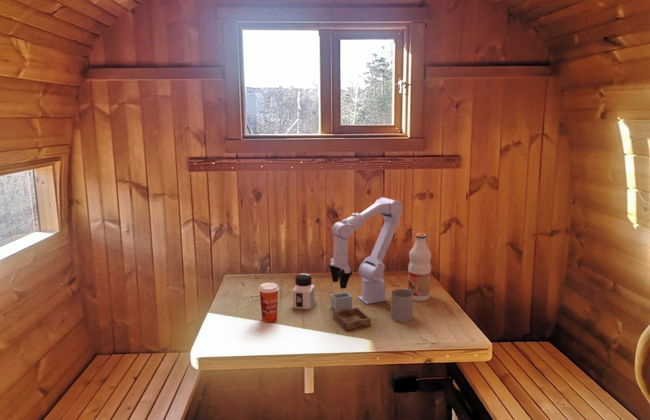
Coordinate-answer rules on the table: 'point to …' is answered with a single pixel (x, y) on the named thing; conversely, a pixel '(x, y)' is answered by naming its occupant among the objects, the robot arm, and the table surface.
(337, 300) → the gray crate
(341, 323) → the walnut crate
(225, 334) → the table surface
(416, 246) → the fruit juice
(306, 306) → the container
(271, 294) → the paper cup
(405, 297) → the cup
